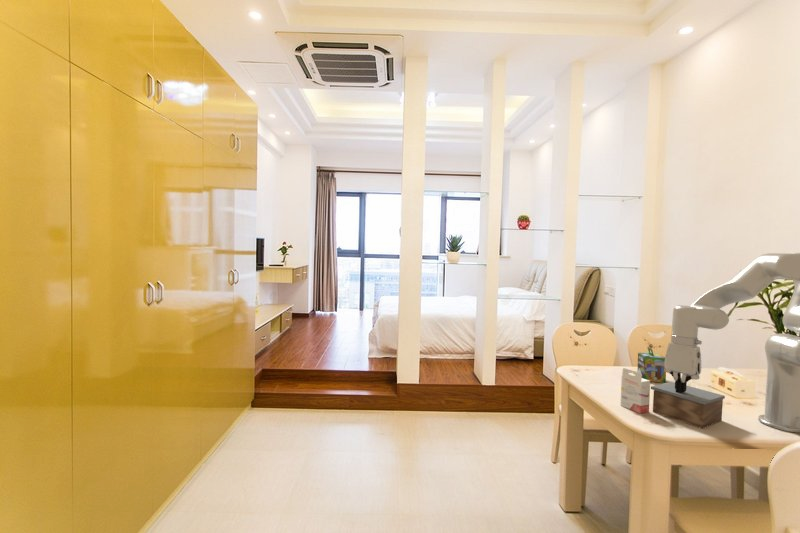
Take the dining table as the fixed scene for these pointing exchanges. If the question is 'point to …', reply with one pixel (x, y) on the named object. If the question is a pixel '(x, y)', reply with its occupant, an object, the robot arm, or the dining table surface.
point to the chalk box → (652, 366)
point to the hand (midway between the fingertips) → (680, 391)
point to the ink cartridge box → (635, 391)
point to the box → (687, 410)
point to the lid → (689, 393)
